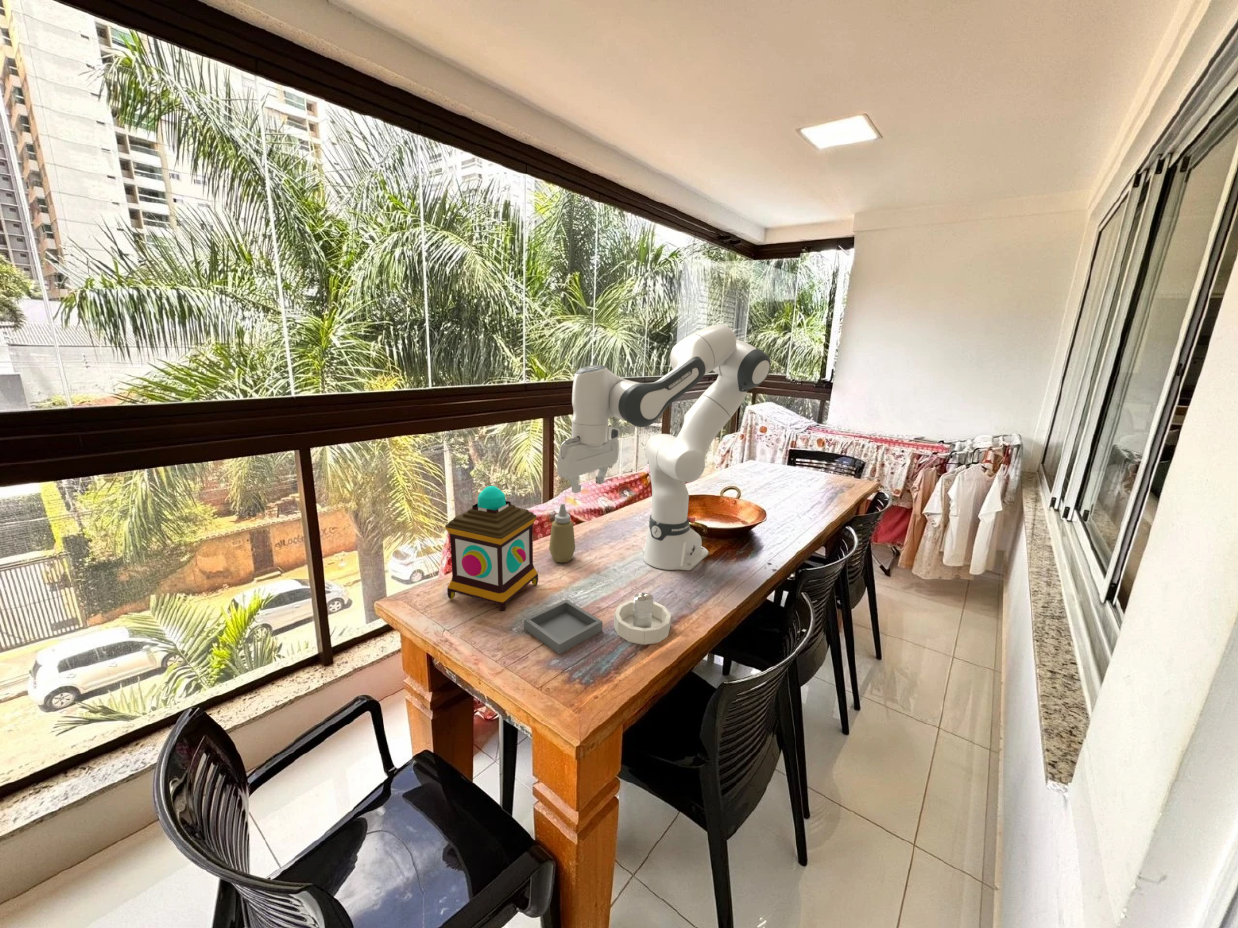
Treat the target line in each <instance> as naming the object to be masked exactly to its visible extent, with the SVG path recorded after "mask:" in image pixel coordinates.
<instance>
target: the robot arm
mask: <svg viewBox="0 0 1238 928" xmlns="http://www.w3.org/2000/svg"><path fill="white" fill-rule="evenodd" d="M669 361H670V366H671V368H672V370H670V371H669V372H668V373H666V374H664V376H662V377H661V378H659V379H658V380H656V381H654V382H652V381H651V382H638V381H633V380H629V379H626V378H625V377H624V378H623V377H621V376H619V375H617V374H615V373H613V372H612V371H611V370H610V369H608V367H606V365H601V364H595V365H587V366H582V367H580V368H579V369H577V370H576V372H575V374H574V377H573V381H572V382H573V383H572V393H571V405H572V410H573V413H572V417H571V438H566V439H564V441H563V442H562V443H561V445H560V449H559V451H558V455H557V456H558V457H557V464H556V473H557V475H558V477H559V478H563V479H566V480H568V482H569V484H570V485H571V492H572V493H573V494H578V493H581V491H582V485H581V484H579V482H578V481H579V480H580V479H579V478H580V476H583V475H586V474H588V473H592V472H595V471H597V470H598V474H597V475H596V476H595V484H596V485H597V484H598V485H602V484H604V483H605V477H606V475H607V473H608V471H609V466H612V465H615V464H616V463H617V461H618V459H619V452H620V451H619V450H620V442H619V438H620V434H621V430H620V429H619V428H616V427H613V426H612V427H611V426H609V419H610V418H613V417H614V418H617V419H619V420H622V421H624V422H625V421H626V422H627V423H629V424H630V425H633V426H635V427H637V428H645V427H649V426H651V425H653V424H654V423H655V422H656V421H658V419H659V418H660V417H661V416H662V414H663V413H664V412H665V410H666V409H667V408H668V407H669V406H670V405H671V404H673V403H674V402H676V401H677V400H678V399H679V398H681V397H682V396H683V395H685V394H686V393H687V392H688V391H690V390H691V389H692V388H693V387H695V386H696V385H697V384H698V383H700V381H701V380H702V379H703V378H704V376H705V375H708V373H710V372H712V371H713V372H714V373H716V374H717V375H718V376H717V378H716V380H715V381H714V382H713V383H712V384H710V385H709V386H708V388H706V389H705V391H704V392H703V393H702V394H701V395H700V396H699V397H698V399H697V400H696V401H695V402H694V404H693V405H692V406H691V407H690V408H689V409H688V410H687V412H686V413H685V414H684V416H683V425H682V427H681V429H680V431H679V433H678V434H677V436H674V435H673V434H669V433H658V434H657V433H656V434H653V435H652V436H650V438H649V439H648V440H647V442H646V443H645V447H644V452H645V453H644V454H645V456H646V458H647V462H648V467H649V474H650V475H649V476H650V483H651V493H652V494H651V511H650V515H649V520H648V528H647V533H646V537H645V545H644V546H643V547H642V553H643V560H644V562H645V564H647V565H649V566H651V567H654V568H656V569H660V570H669V571H670V570H671V571H674V570H675V571H676V570H681V571H691V570H692V569H693V568H695V567H696V566H697V565H698V564H699V563H700V562H701V561H702V560H703V559H705V558H706V557H707V556H709V551H708V549H707V548H706V547H704V546H702V542H703V541H702V537H701V535H700V534H699V533H698V532H696V531H695V530H694V529H692V528H691V525H690V524H692V525H693V524H694V523H695V522H696V518H695V516H691V515H689V516H688V513H689V499H690V494H689V491H688V488H687V486H686V483H692V482H695V481H697V480H698V479H700V477H702V475H703V474H704V471H705V469H706V456H707V453H708V451H709V448H710V447H711V444H712V442H713V441H714V439H715V438H716V436H717V435H718V434H719V433H720V432H721V430H723V427H725V426H726V424H728V422H729V421H730V420H731V418H732V417H733V416H734V414H735V413H736V411H738V409H739V408H740V407H741V404H742V403H743V401H744V400H745V397H746V396H747V393H748V392H750V391H751V390H752V389H755V388H756V387H758V386H760V385H761V384H762V383H763V382H764V381H766V379H767V378H768V376H769V373H770V371H771V367H772V365H771V363H772V362H771V358H770V356H769V355H768V354H767V353H766V352H764V351H763V350H762V349H760V348H756V347H755V346H753V345H752V344H749V343H747V342H746V341H743V340H740V339H737V337H736V334H735V333H734V331H733V329H731V328H730V327H729V326H727V325H726V324H723V323H722V324H721V323H716V324H713V325H709V326H707V327H704V328H701V329H699V330H697V331H695V332H693V333H691V334H689V335H687V336H686V337H684V338H682V339H681V340H680V341H678V342H677V343H676V344H675V345H674V346H672V349H671V351H670V355H669Z"/></svg>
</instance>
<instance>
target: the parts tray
mask: <svg viewBox="0 0 1238 928" xmlns="http://www.w3.org/2000/svg"><path fill="white" fill-rule="evenodd" d="M523 629H524V630H525V631H526V632H527V633H529V634H530V635H532V636H533V637H535V638H536V639H538V641H540V642H541V643H543V644H544V645H545V646H547V647H548V648H549V649H551V650H553V651H554V652H555V653H556V654H558V655H561V654H563V653H565V652H567V651H569V650H570V649H572V648H574V647H576V646H577V645H579V644H582V643H583V642H585V641H587V640H588V639H590V638H592V637H593V636H596V635H597V634H599V633H600V632H602V631H603V620H601V619H599V618H598V617H597V616H595V615H593V614H592V613H590V612H588V611H587V610H585V609H583V608H582V607H580V606H578V605H577V604H575V603H573V602H572V601H570V600H568V599H564V600H563V601H560V602H558V603H556V604H553V605H552V606H549V607H547V608H545V609H543V610H541V611H538V612H537V613H534V614H532V615H530V616H528V617H526V618H523Z"/></svg>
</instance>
